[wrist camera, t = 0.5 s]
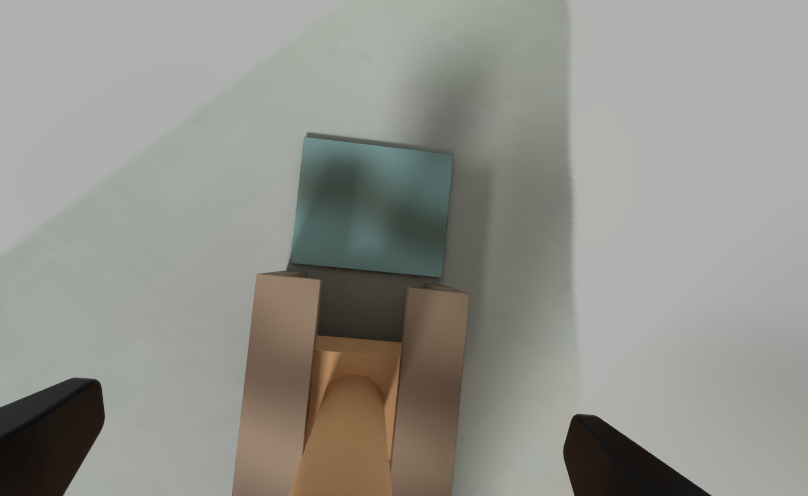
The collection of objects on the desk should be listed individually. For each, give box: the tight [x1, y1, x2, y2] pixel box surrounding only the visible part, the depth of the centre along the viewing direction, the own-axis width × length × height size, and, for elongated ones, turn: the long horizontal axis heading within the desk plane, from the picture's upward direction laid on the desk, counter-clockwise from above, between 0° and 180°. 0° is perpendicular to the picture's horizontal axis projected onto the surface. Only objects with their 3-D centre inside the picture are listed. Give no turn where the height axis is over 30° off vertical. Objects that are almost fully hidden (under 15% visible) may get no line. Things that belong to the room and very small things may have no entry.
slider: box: [289, 335, 402, 496], centre depth 17 cm, size 5×6×15 cm
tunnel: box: [232, 137, 469, 496], centre depth 22 cm, size 24×10×6 cm, turn 174°
